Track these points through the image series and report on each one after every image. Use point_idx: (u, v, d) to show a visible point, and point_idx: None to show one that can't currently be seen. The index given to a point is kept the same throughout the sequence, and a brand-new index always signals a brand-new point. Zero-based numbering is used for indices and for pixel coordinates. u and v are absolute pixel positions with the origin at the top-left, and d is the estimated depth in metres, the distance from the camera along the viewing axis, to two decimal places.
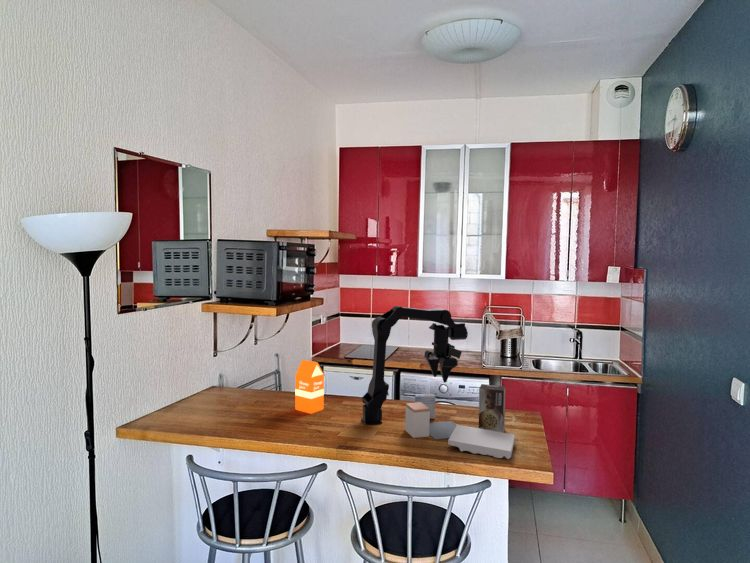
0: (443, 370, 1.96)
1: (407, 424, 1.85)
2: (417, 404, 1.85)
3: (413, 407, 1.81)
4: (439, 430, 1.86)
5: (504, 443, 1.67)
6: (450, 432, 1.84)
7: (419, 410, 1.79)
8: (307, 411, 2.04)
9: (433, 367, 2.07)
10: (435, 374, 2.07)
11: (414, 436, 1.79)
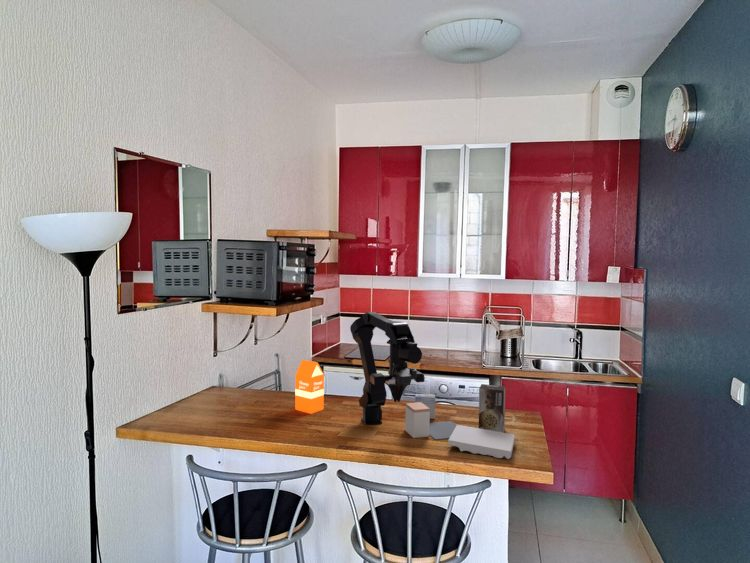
0: (389, 386, 1.81)
1: (407, 424, 1.85)
2: (417, 404, 1.85)
3: (413, 407, 1.81)
4: (439, 430, 1.86)
5: (504, 443, 1.67)
6: (450, 432, 1.84)
7: (419, 410, 1.79)
8: (307, 411, 2.04)
9: (398, 390, 1.82)
10: (397, 399, 1.81)
11: (414, 436, 1.79)
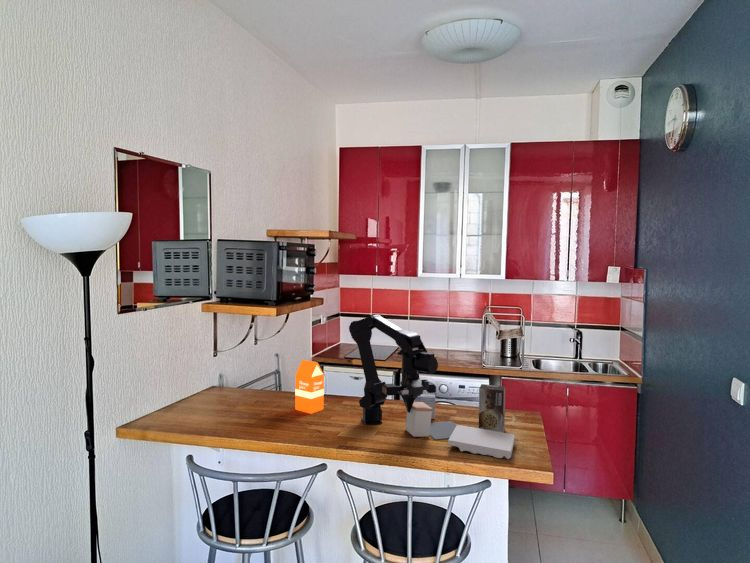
0: (402, 397, 1.83)
1: (407, 422, 1.85)
2: (419, 404, 1.85)
3: (415, 406, 1.82)
4: (439, 430, 1.86)
5: (504, 443, 1.67)
6: (450, 432, 1.84)
7: (421, 409, 1.79)
8: (307, 411, 2.04)
9: None
10: None
11: (414, 435, 1.79)
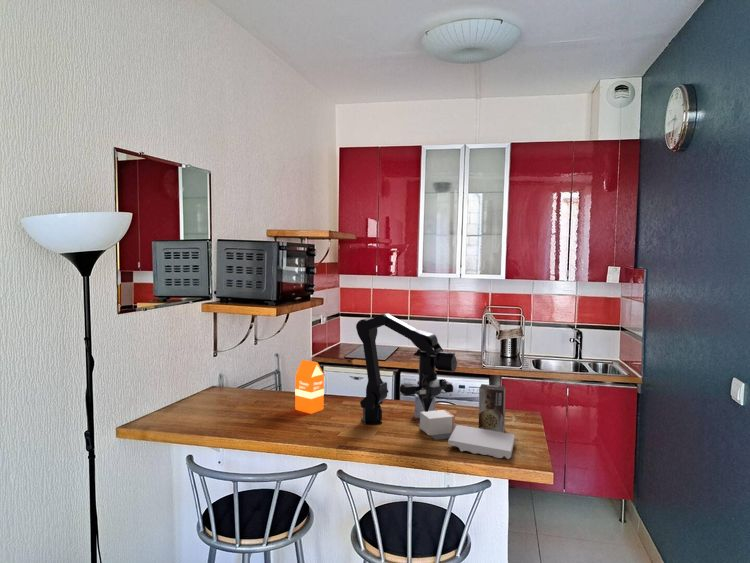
0: (419, 396, 1.85)
1: (429, 412, 1.87)
2: None
3: None
4: None
5: (504, 443, 1.67)
6: None
7: (453, 422, 1.84)
8: (307, 411, 2.04)
9: None
10: None
11: (430, 419, 1.81)
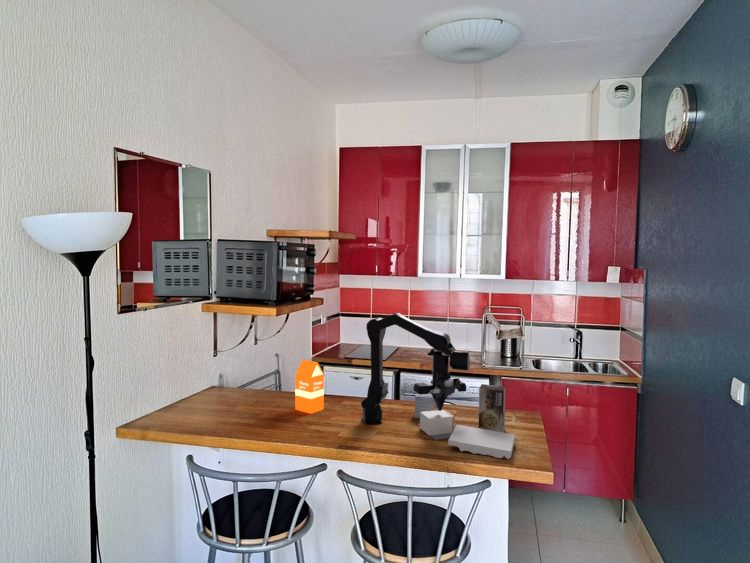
0: (433, 395, 1.87)
1: (429, 412, 1.87)
2: None
3: None
4: None
5: (504, 443, 1.67)
6: None
7: (453, 422, 1.84)
8: (307, 411, 2.04)
9: (439, 399, 1.87)
10: None
11: (430, 419, 1.81)
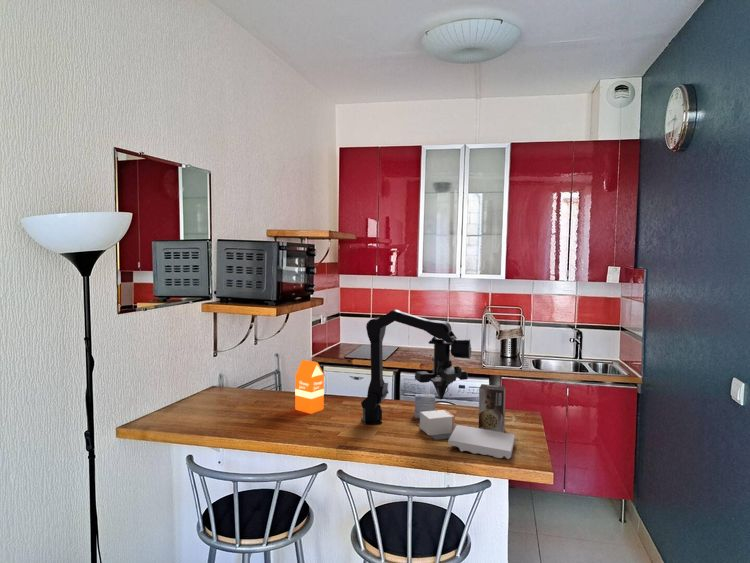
0: (434, 384, 1.87)
1: (429, 412, 1.87)
2: None
3: None
4: None
5: (504, 443, 1.67)
6: None
7: (453, 422, 1.84)
8: (307, 411, 2.04)
9: None
10: None
11: (430, 419, 1.81)
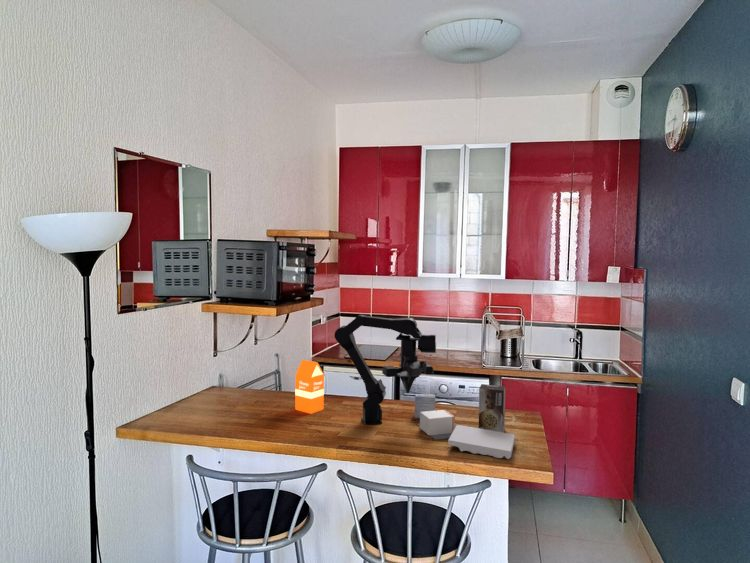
0: (401, 378, 1.93)
1: (429, 412, 1.87)
2: None
3: None
4: None
5: (504, 443, 1.67)
6: None
7: (453, 422, 1.84)
8: (307, 411, 2.04)
9: (408, 382, 1.93)
10: None
11: (430, 419, 1.81)
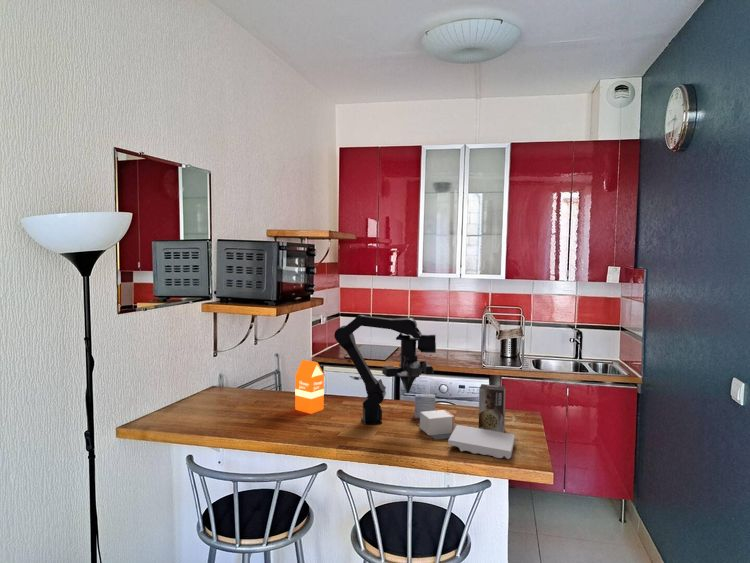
0: (401, 378, 1.93)
1: (429, 412, 1.87)
2: None
3: None
4: None
5: (504, 443, 1.67)
6: None
7: (453, 422, 1.84)
8: (307, 411, 2.04)
9: (408, 382, 1.93)
10: None
11: (430, 419, 1.81)
